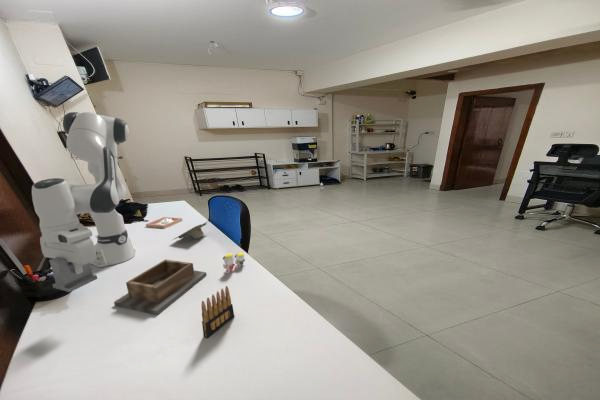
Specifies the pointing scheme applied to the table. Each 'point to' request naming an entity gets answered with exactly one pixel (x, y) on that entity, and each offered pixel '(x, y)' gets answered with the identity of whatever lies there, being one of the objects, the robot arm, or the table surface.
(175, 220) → the orange square frame
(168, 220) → the rose
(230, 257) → the toy figures
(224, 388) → the table surface
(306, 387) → the table surface
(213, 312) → the bullet clip
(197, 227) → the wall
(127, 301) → the well box
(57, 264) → the metal bracket
